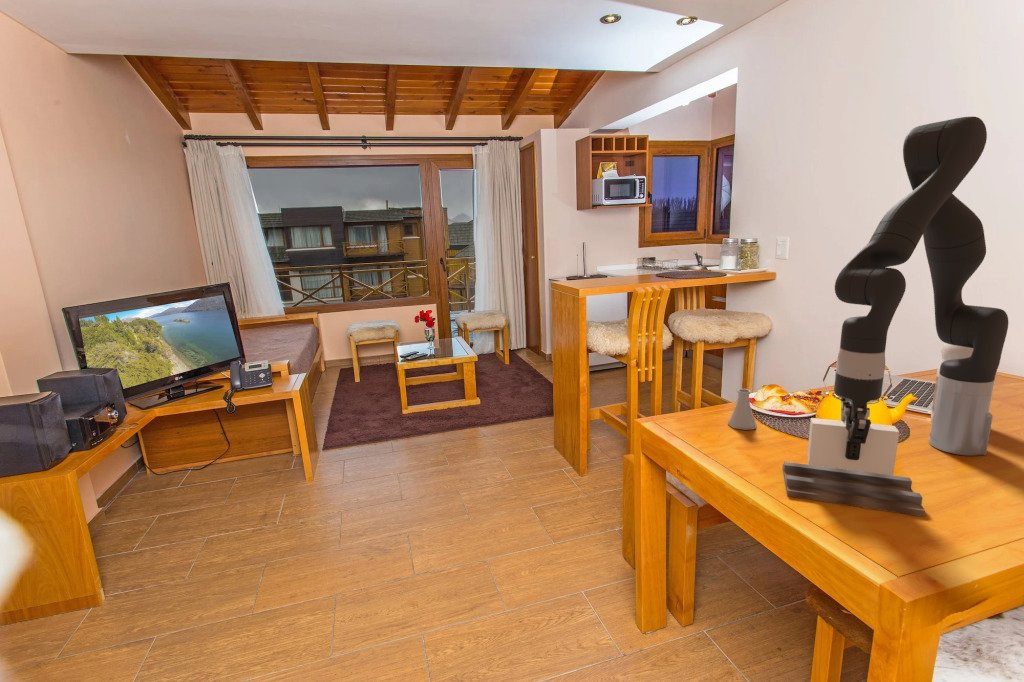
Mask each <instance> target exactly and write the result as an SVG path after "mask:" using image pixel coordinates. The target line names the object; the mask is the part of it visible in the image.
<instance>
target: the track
mask: <svg viewBox="0 0 1024 682" xmlns="http://www.w3.org/2000/svg"><path fill="white" fill-rule="evenodd" d="M782 475H783V478H784V479H783V481H784V487H785V492H786V496H787V497H791V498H792V497H793V498H797V499H798V498H800V499H803V500H805V499H806V500H812V501H818V502H819V501H820V502H826V503H830V504H831V503H832V504H839V505H844V504H845V505H846V506H850V505H851V506H850V507H857V506H859V508H864V509H871V510H879V511H885V512H892V513H897V512H899V513H898V514H903V513H904V515H910V516H918V517H923V518H924V517H925V514H926V509H925V508H924V506H923V505H922V503H923V496H922V495H921V493H920V492H914V491H913V489H912V485H913V484H912V483H913V481H912V480H911V478H910V477H908V476H907V477H906V476H898V475H893V476H892V475H885V474H877V473H869V472H861V471H854V470H846V469H838V468H830V467H823V466H815V465H809V464H807V463H806V464H805V463H796V462H790V461H789V462H788V461H784V462H783V463H782Z"/></svg>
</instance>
